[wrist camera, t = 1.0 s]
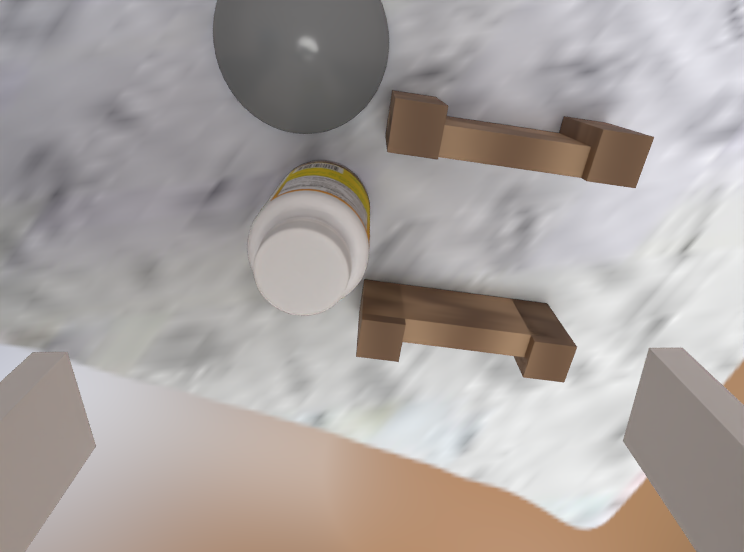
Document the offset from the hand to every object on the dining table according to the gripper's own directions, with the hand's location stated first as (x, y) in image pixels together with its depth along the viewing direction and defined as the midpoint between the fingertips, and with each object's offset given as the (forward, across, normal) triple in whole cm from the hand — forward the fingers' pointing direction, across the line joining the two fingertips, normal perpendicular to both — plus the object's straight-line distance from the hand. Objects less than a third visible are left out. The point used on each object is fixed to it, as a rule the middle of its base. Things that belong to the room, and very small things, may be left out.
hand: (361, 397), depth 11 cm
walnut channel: (+19, +7, -2) cm, 20 cm away
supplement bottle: (+20, -2, -1) cm, 20 cm away
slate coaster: (+19, -3, +8) cm, 21 cm away
